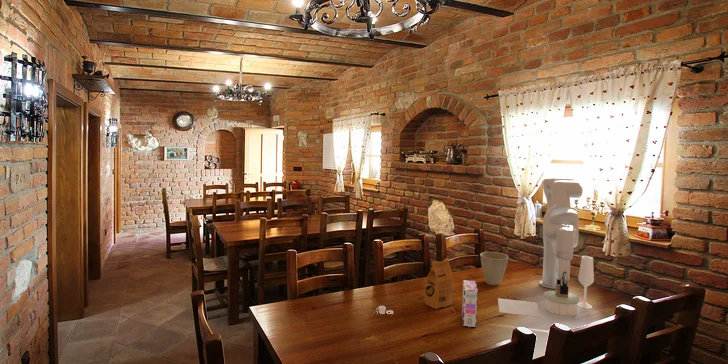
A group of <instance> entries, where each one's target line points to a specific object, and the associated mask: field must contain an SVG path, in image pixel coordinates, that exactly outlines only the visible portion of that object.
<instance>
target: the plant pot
mask: <svg viewBox="0 0 728 364" xmlns="http://www.w3.org/2000/svg"><path fill="white" fill-rule="evenodd" d="M479 256H480V265H481V270H482V274H483V277H484V281H485V284H487V285H489V286H499V285H500V284H501V282H502V280H503V277H504V274H505V272H506V269H507V265H508V261H509V255H507V254H505V253H501V252H496V251H484V252H481V253H480V254H479Z"/></svg>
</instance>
